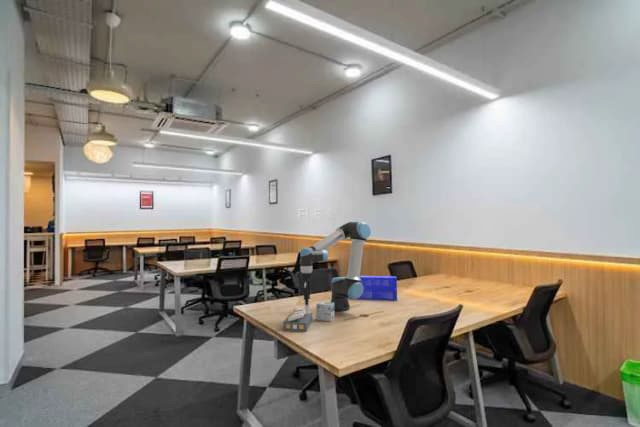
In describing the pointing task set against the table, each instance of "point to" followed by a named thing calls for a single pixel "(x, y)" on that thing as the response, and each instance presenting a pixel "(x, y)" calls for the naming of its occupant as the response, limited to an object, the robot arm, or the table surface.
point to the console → (298, 323)
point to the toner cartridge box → (379, 287)
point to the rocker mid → (298, 312)
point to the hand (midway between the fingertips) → (307, 309)
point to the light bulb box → (325, 311)
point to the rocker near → (295, 316)
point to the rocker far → (298, 310)
